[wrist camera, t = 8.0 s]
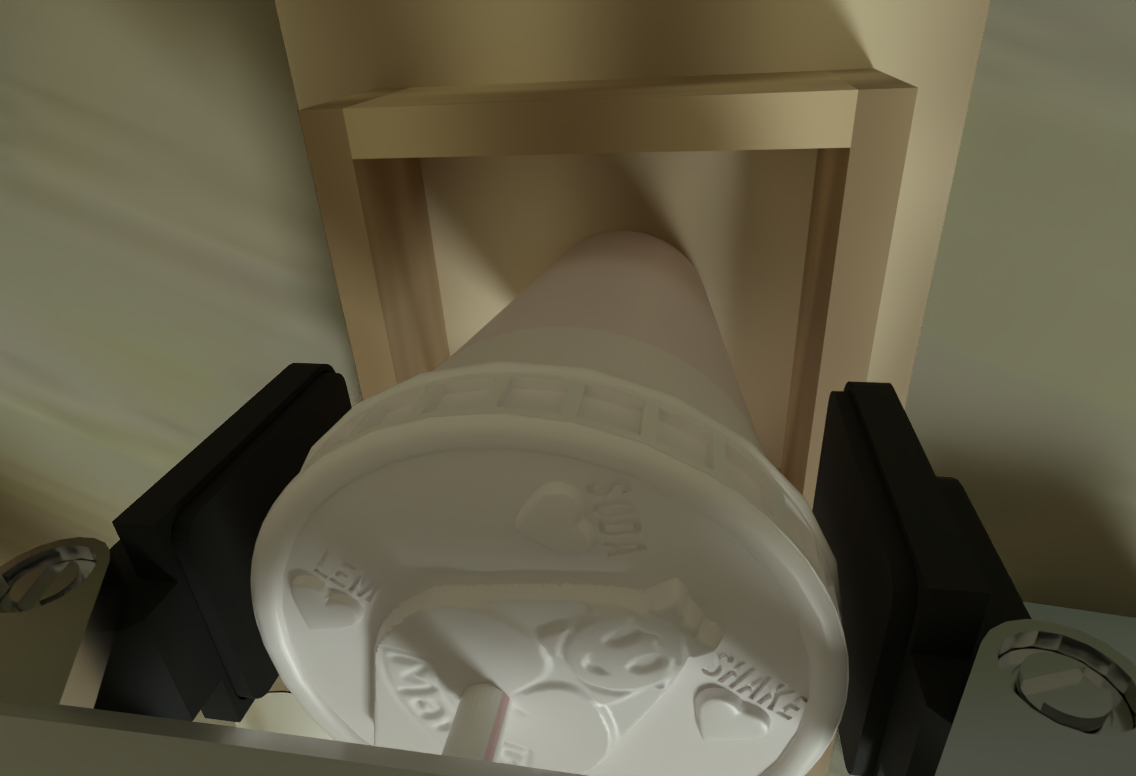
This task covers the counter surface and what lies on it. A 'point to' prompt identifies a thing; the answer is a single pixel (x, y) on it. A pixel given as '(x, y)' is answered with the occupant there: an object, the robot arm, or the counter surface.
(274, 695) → the champagne flute
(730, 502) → the smoothie
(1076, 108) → the counter surface
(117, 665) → the robot arm
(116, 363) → the counter surface
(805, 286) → the tray
